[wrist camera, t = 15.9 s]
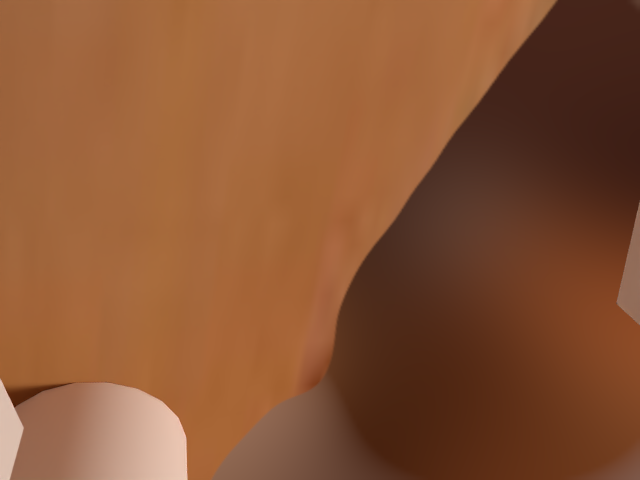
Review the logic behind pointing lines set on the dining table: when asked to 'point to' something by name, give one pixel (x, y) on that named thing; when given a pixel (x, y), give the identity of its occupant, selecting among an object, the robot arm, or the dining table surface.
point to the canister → (99, 435)
